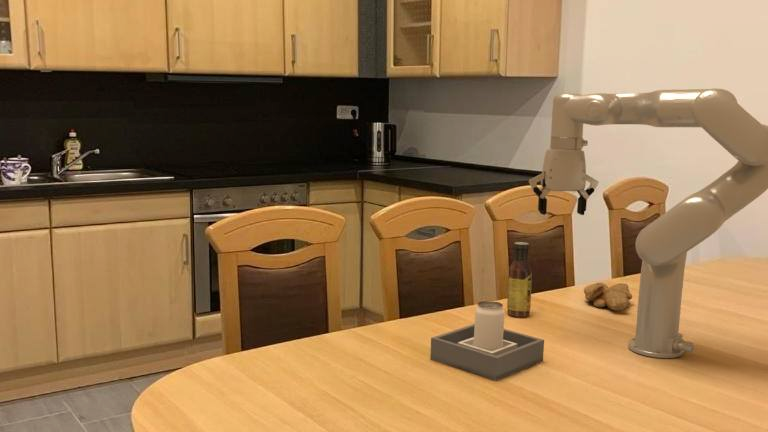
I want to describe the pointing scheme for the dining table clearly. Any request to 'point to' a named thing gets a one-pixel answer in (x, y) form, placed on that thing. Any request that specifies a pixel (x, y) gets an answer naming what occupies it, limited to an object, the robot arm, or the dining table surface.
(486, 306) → the can
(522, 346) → the box
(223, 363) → the dining table surface
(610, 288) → the ginger root
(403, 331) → the dining table surface
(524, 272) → the sauce bottle
